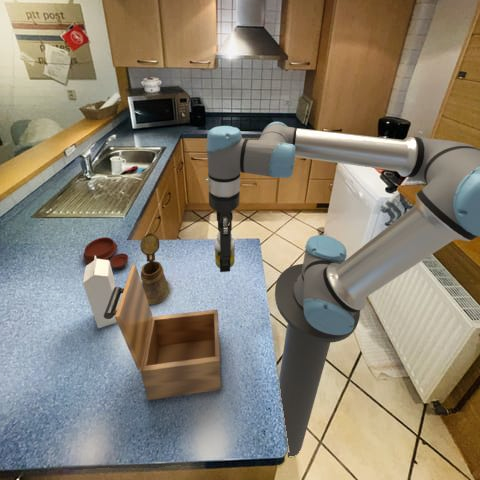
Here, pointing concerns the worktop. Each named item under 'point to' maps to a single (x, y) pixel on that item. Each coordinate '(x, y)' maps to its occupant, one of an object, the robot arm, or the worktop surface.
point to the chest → (182, 355)
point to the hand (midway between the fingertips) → (224, 261)
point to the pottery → (104, 252)
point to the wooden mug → (153, 271)
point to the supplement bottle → (217, 249)
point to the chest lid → (132, 315)
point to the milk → (99, 289)
